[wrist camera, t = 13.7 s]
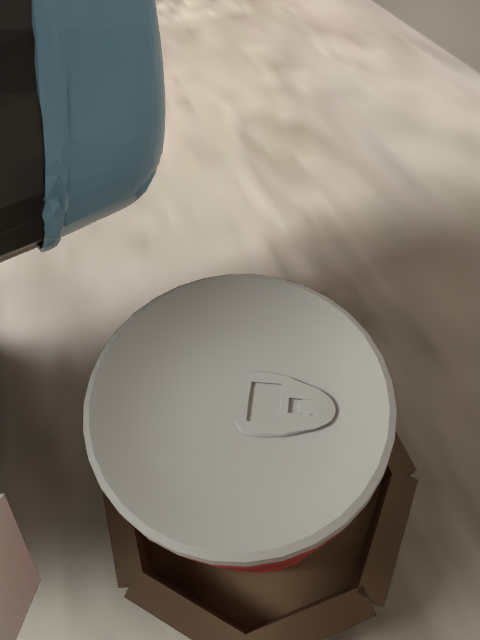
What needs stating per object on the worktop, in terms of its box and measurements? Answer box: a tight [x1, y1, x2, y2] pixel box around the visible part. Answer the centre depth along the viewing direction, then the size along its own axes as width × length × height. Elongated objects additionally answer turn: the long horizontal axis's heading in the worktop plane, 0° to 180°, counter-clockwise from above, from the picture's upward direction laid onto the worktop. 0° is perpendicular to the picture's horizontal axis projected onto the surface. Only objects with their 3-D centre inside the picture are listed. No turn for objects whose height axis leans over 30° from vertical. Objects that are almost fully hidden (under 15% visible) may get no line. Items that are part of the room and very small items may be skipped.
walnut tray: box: [102, 432, 418, 640], centre depth 20 cm, size 13×13×3 cm
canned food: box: [83, 274, 397, 573], centre depth 16 cm, size 8×8×11 cm
